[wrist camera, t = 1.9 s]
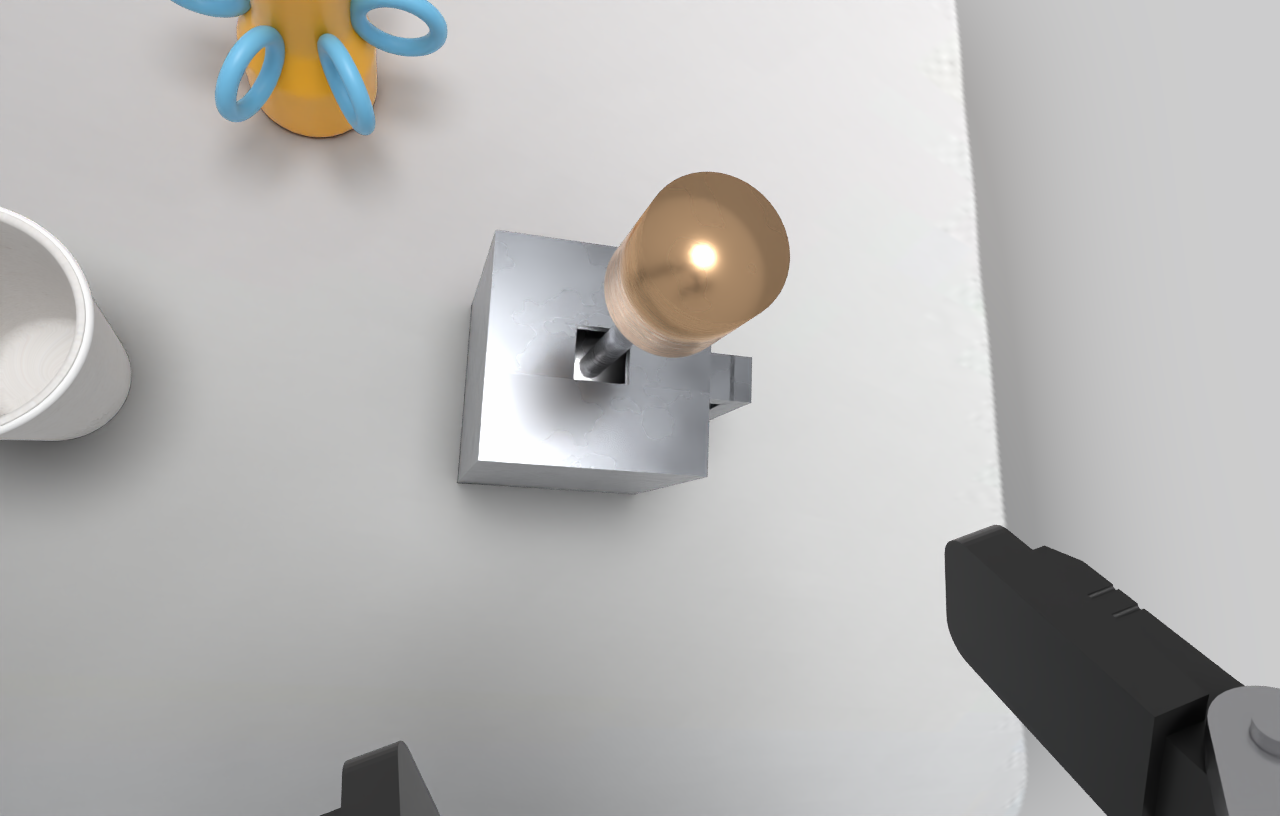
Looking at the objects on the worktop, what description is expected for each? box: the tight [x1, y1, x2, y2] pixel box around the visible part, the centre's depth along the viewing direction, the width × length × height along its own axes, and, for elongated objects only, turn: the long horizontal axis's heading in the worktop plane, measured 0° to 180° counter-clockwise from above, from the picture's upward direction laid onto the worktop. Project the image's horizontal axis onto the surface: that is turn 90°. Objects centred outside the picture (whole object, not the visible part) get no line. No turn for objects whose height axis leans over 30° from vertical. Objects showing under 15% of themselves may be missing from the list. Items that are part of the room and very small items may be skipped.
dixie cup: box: [0, 207, 131, 441], centre depth 33 cm, size 8×8×10 cm
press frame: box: [457, 230, 752, 494], centre depth 39 cm, size 12×9×11 cm
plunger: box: [574, 172, 790, 384], centre depth 29 cm, size 7×7×15 cm
